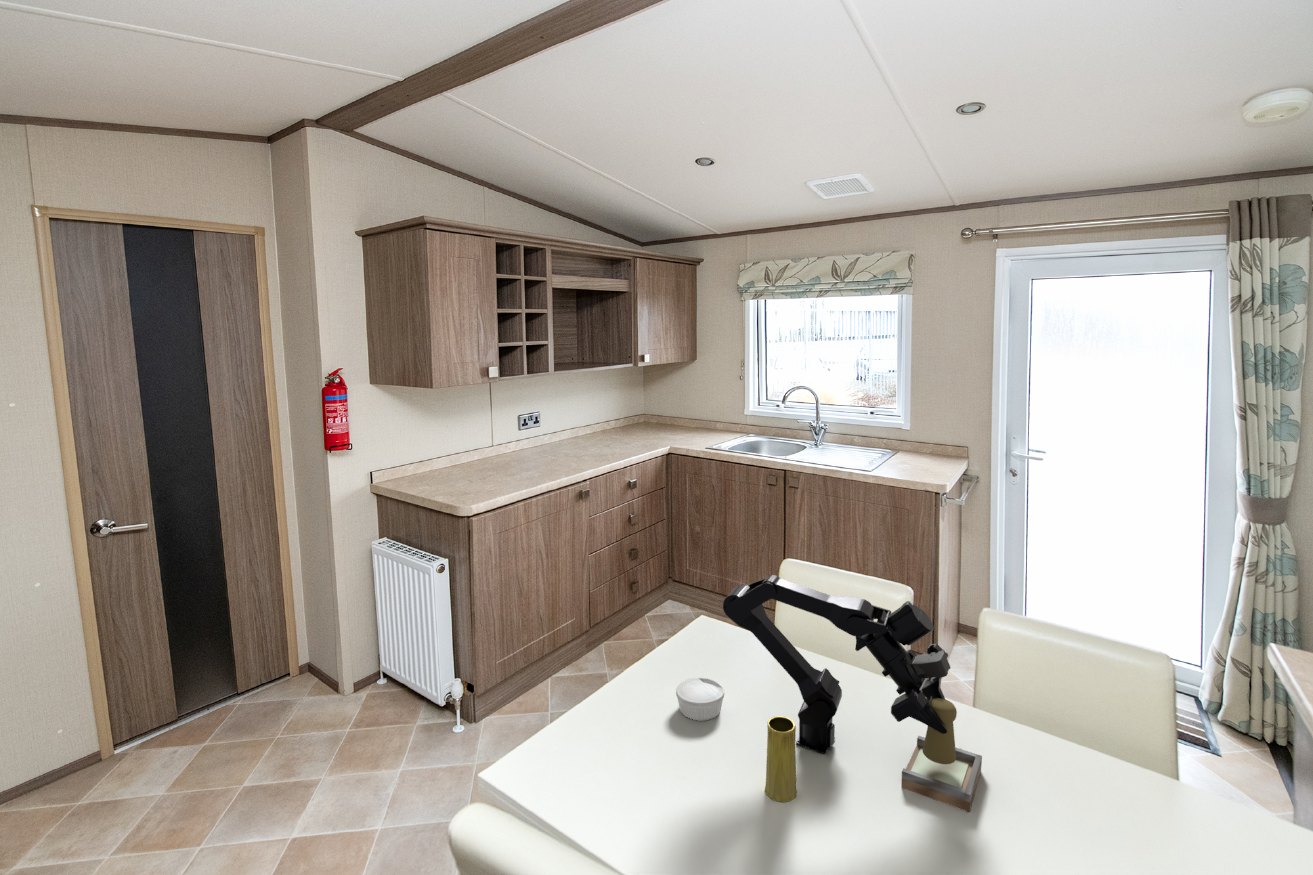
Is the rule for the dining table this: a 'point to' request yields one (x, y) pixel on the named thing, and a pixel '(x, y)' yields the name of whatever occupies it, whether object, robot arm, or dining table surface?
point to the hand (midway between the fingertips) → (948, 725)
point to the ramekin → (700, 698)
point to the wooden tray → (943, 777)
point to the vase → (781, 759)
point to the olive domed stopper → (939, 744)
